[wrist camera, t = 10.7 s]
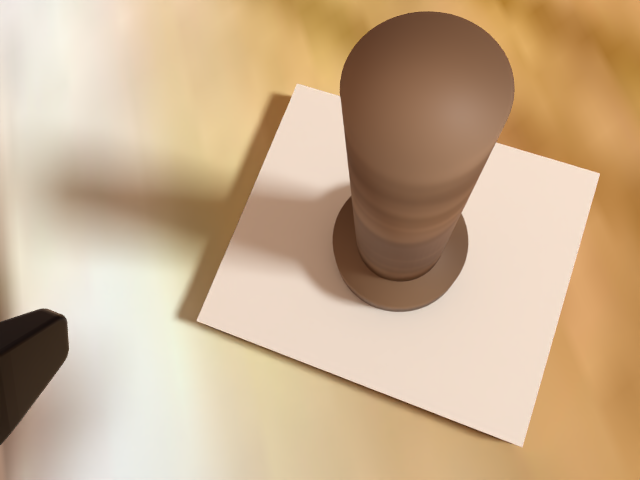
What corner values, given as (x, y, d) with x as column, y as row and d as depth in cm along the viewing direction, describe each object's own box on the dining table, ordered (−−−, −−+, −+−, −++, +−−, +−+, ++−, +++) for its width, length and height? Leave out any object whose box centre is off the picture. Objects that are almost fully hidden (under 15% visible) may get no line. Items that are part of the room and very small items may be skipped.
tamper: (439, 330, 22) (521, 252, 10) (316, 286, 23) (252, 164, 11) (478, 211, 23) (595, 8, 11) (359, 174, 24) (345, -54, 12)
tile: (514, 444, 22) (522, 447, 20) (205, 324, 24) (196, 321, 23) (588, 184, 24) (599, 173, 23) (300, 97, 26) (297, 83, 25)
